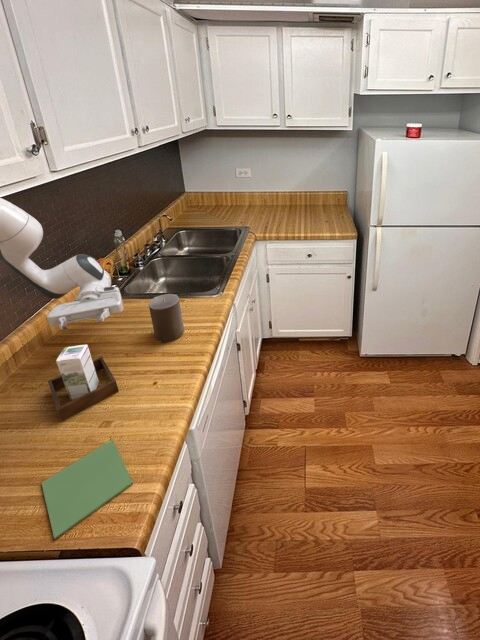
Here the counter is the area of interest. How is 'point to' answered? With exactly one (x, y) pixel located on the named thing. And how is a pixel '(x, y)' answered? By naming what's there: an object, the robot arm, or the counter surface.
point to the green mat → (84, 487)
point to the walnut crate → (88, 398)
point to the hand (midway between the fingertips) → (82, 323)
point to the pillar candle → (166, 317)
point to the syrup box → (77, 371)
